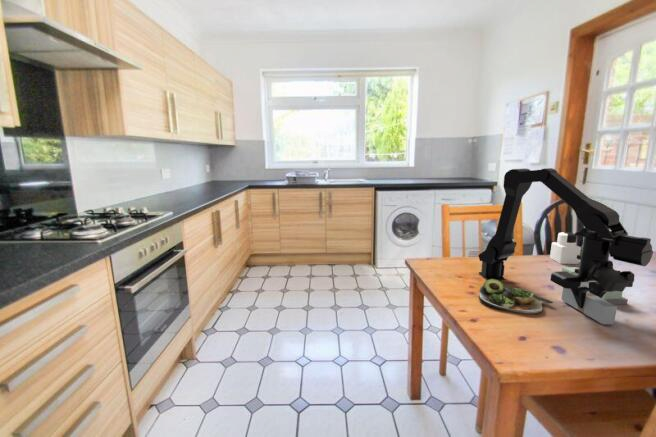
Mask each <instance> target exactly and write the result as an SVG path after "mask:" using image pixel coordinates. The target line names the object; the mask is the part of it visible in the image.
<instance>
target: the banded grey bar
mask: <svg viewBox="0 0 656 437" xmlns="http://www.w3.org/2000/svg"><path fill="white" fill-rule="evenodd" d="M560 299H561V301H562V302H564V303H566V304H567V305H569V306H571V307H573V308H574V309H576V310H577V311H580V312H581V313H583V314H584V315H586V316H588V317H589V318H591V319H593V320H595V321H596V322H597V323H599V324H601V325H614V324H615V320H616V315H617V311H618V305H613V304H611V303H610V302H608V301H606V300H604V299H602V298H600V297H598V296H596V295H594V294H592V293H590V292H587V293H586V297H585V302H584V306H583V308H579V307H578V305H577V303H576V300H575V298H574V295H573V293H572V291H571V289H567V288H563V287H562V294H561V298H560Z"/></svg>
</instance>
